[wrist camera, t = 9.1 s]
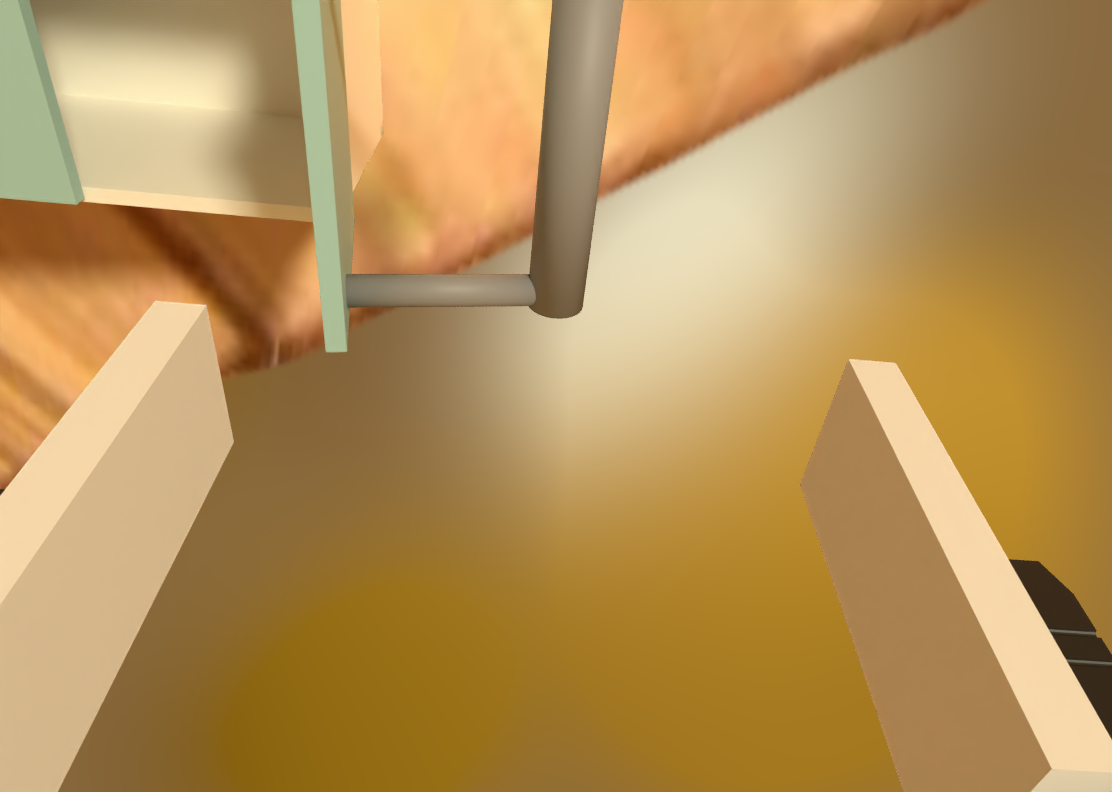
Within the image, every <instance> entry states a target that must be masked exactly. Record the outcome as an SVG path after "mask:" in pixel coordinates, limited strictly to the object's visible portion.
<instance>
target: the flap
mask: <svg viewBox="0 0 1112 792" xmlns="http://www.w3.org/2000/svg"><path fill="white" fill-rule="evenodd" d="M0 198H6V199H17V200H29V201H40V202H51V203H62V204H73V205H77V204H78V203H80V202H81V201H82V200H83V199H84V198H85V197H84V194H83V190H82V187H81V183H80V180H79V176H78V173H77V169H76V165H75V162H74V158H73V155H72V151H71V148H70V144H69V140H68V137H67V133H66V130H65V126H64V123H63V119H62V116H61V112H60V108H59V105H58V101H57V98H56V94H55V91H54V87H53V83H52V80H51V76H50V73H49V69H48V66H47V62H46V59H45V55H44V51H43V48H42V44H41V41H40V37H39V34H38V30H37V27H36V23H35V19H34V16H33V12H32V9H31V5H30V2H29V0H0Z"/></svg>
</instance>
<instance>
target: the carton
mask: <svg viewBox="0 0 1112 792" xmlns="http://www.w3.org/2000/svg"><path fill="white" fill-rule="evenodd" d="M29 2H30V5H31V9H32V12H33V16H34V19H35V23H36V27H37V30H38V34H39V37H40V41H41V44H42V48H43V51H44V55H45V59H46V62H47V66H48V69H49V73H50V76H51V80H52V83H53V87H54V91H55V94H56V98H57V101H58V105H59V108H60V112H61V116H62V119H63V123H64V126H65V130H66V133H67V137H68V140H69V144H70V148H71V151H72V155H73V158H74V162H75V165H76V169H77V173H78V176H79V180H80V183H81V187H82V190H83V194H84V197H85V198H84V199H83V200H82V202H93V203H104V204H115V205H126V206H137V207H149V208H160V209H171V210H182V211H193V212H204V213H215V214H226V215H238V216H249V217H260V218H271V219H282V220H293V221H304V222H313V216H312V206H311V196H310V185H309V175H308V165H307V155H306V144H305V134H304V124H303V114H302V104H301V93H300V83H299V73H298V63H297V53H296V42H295V32H294V22H293V12H292V2H291V0H29ZM341 15H342V31H343V46H344V62H345V78H346V94H347V109H348V125H349V141H350V156H351V172H352V188H353V191H354V189H355V187H356V185H357V183H358V181H359V179H360V177H361V175H362V173H363V171H364V170H365V168H366V166H367V164H368V162H369V160H370V158H371V156H372V154H373V152H374V150H375V148H376V146H377V145H378V143H379V141H380V139H381V137H382V135H383V108H382V81H381V55H380V28H379V1H378V0H341Z"/></svg>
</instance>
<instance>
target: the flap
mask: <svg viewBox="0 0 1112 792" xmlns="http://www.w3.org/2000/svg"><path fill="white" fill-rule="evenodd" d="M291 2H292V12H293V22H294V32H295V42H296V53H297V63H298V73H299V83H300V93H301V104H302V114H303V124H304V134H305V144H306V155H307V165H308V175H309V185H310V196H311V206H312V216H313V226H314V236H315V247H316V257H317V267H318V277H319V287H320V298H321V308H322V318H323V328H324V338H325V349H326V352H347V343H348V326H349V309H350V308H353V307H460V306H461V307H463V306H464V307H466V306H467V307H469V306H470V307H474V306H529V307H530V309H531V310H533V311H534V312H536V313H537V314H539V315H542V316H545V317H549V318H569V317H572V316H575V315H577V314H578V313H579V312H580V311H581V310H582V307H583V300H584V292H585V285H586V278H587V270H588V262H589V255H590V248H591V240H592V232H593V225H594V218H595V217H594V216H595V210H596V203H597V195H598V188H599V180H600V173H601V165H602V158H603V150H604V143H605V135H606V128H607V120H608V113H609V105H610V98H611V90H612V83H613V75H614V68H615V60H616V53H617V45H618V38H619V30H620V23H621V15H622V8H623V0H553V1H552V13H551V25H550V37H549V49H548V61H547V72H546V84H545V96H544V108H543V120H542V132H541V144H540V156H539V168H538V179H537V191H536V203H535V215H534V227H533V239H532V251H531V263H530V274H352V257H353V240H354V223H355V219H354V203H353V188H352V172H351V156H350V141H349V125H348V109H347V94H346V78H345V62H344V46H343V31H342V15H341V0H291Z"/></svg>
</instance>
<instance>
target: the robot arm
mask: <svg viewBox="0 0 1112 792" xmlns="http://www.w3.org/2000/svg"><path fill="white" fill-rule="evenodd" d="M233 442H234V440H233V435H232V431H231V425H230V420H229V415H228V411H227V405H226V400H225V395H224V390H223V385H222V380H221V375H220V370H219V365H218V360H217V355H216V350H215V345H214V340H213V335H212V330H211V325H210V320H209V315H208V310H207V305H200V304H188V303H176V302H164V301H155V302H154V303H153V304H152V305H151V307H150V308H149V309H148V310H147V312H146V313H145V314H144V315H143V317H142V318H141V319H140V320H139V322H138V323H137V324H136V325H135V327H134V328H133V329H132V331H131V332H130V333H129V334H128V336H127V337H126V338H125V339H124V341H123V342H122V343H121V344H120V346H119V347H118V348H117V349H116V351H115V352H114V353H113V354H112V356H111V357H110V358H109V359H108V361H107V362H106V363H105V365H104V366H103V367H102V368H101V370H100V371H99V372H98V373H97V375H96V376H95V377H94V378H93V380H92V381H91V382H90V383H89V385H88V386H87V387H86V388H85V390H84V391H83V392H82V393H81V395H80V396H79V397H78V399H77V400H76V401H75V402H74V404H73V405H72V406H71V407H70V409H69V410H68V411H67V412H66V414H65V415H64V416H63V417H62V419H61V420H60V421H59V422H58V424H57V425H56V426H55V428H54V429H53V430H52V431H51V433H50V434H49V435H48V436H47V438H46V439H45V440H44V441H43V443H42V444H41V445H40V446H39V448H38V449H37V450H36V451H35V453H34V454H33V455H32V456H31V458H30V459H29V460H28V462H27V463H26V464H25V465H24V467H23V468H22V469H21V470H20V472H19V473H18V474H17V475H16V477H15V478H14V479H13V480H12V482H11V483H10V484H9V485H8V487H7V488H6V489H5V490H3V489H0V792H58V790H59V788H60V786H61V784H62V782H63V780H64V778H65V776H66V774H67V772H68V770H69V768H70V766H71V764H72V762H73V760H74V758H75V756H76V754H77V752H78V750H79V748H80V746H81V744H82V742H83V740H84V738H85V736H86V734H87V732H88V730H89V729H90V726H91V724H92V723H93V720H94V719H95V717H96V715H97V713H98V711H99V709H100V706H101V704H102V703H103V701H104V699H105V697H106V695H107V693H108V691H109V689H110V687H111V685H112V683H113V681H114V679H115V677H116V675H117V673H118V671H119V669H120V667H121V665H122V663H123V661H124V659H125V657H126V655H127V653H128V651H129V649H130V647H131V645H132V643H133V641H134V639H135V637H136V635H137V633H138V631H139V629H140V627H141V625H142V623H143V621H144V619H145V617H146V615H147V613H148V611H149V609H150V607H151V605H152V603H153V601H154V599H155V597H156V595H157V593H158V591H159V589H160V587H161V585H162V583H163V581H164V580H165V578H166V575H167V574H168V572H169V569H170V568H171V566H172V564H173V562H174V560H175V557H176V556H177V554H178V552H179V549H180V548H181V546H182V543H183V542H184V540H185V538H186V536H187V534H188V532H189V530H190V528H191V526H192V524H193V522H194V520H195V518H196V516H197V514H198V512H199V510H200V508H201V506H202V504H203V502H204V500H205V498H206V496H207V494H208V492H209V490H210V488H211V486H212V484H213V482H214V480H215V478H216V476H217V474H218V472H219V470H220V468H221V466H222V464H223V462H224V460H225V458H226V456H227V454H228V452H229V450H230V448H231V446H232V444H233ZM800 486H801V489H802V492H803V495H804V498H805V501H806V504H807V507H808V510H809V513H810V516H811V519H812V522H813V525H814V527H815V530H816V534H817V537H818V540H819V542H820V545H821V549H822V552H823V555H824V557H825V560H826V563H827V566H828V569H829V572H830V575H831V578H832V581H833V584H834V587H835V590H836V593H837V596H838V599H839V602H840V605H841V608H842V611H843V614H844V617H845V620H846V623H847V625H848V628H849V632H850V635H851V638H852V640H853V643H854V646H855V649H856V652H857V655H858V658H859V661H860V664H861V667H862V670H863V673H864V676H865V679H866V682H867V685H868V688H869V691H870V694H871V697H872V699H873V703H874V705H875V708H876V712H877V714H878V718H879V721H880V724H881V726H882V729H883V732H884V735H885V738H886V741H887V744H888V747H889V750H890V753H891V756H892V759H893V762H894V765H895V768H896V771H897V774H898V777H899V780H900V783H901V786H902V789H903V792H1112V654H1111V653H1110V651H1109V650H1108V648H1107V647H1106V645H1105V643H1104V642H1103V640H1102V639H1101V638H1097V637H1096V629H1095V627H1094V626H1093V624H1092V623H1091V621H1090V620H1089V618H1088V616H1087V615H1086V613H1085V612H1084V610H1083V608H1082V607H1081V605H1080V604H1079V602H1078V601H1077V599H1076V597H1075V596H1074V594H1073V593H1072V592H1071V591H1070V590H1069V589H1067V588H1066V587H1065V586H1064V585H1063V584H1062V583H1061V582H1060V581H1059V580H1058V579H1057V578H1056V577H1055V576H1054V575H1052V574H1051V573H1050V572H1049V571H1048V570H1047V569H1046V568H1045V567H1044V566H1043V565H1042V564H1041V563H1040V562H1038V561H1024V560H1011V559H1008V558H1007V556H1006V555H1005V553H1004V551H1003V549H1002V548H1001V546H1000V544H999V542H998V541H997V539H996V537H995V535H994V534H993V532H992V530H991V528H990V527H989V525H988V523H987V521H986V520H985V518H984V516H983V515H982V513H981V511H980V509H979V508H978V506H977V504H976V502H975V501H974V499H973V497H972V495H971V494H970V492H969V490H968V489H967V487H966V485H965V483H964V481H963V480H962V478H961V476H960V474H959V473H958V471H957V469H956V467H955V466H954V464H953V462H952V460H951V459H950V457H949V455H948V453H947V452H946V450H945V448H944V446H943V445H942V443H941V441H940V440H939V438H938V436H937V435H936V433H935V431H934V429H933V427H932V426H931V424H930V422H929V420H928V419H927V417H926V415H925V413H924V412H923V410H922V408H921V406H920V405H919V403H918V401H917V399H916V398H915V396H914V394H913V392H912V391H911V389H910V387H909V386H908V384H907V382H906V381H905V379H904V377H903V375H902V373H901V372H900V370H899V368H898V366H897V365H896V363H889V362H877V361H865V360H854V359H848V362H847V364H846V367H845V370H844V372H843V375H842V377H841V380H840V382H839V385H838V388H837V390H836V393H835V395H834V398H833V401H832V403H831V406H830V408H829V411H828V413H827V416H826V419H825V421H824V424H823V426H822V429H821V432H820V434H819V437H818V439H817V442H816V444H815V447H814V450H813V452H812V455H811V457H810V460H809V462H808V465H807V468H806V470H805V473H804V476H803V478H802V481H801V483H800Z"/></svg>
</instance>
